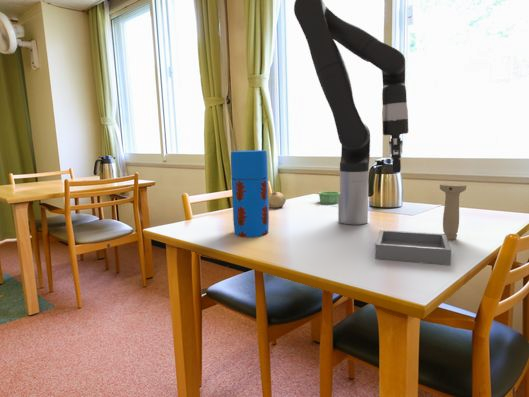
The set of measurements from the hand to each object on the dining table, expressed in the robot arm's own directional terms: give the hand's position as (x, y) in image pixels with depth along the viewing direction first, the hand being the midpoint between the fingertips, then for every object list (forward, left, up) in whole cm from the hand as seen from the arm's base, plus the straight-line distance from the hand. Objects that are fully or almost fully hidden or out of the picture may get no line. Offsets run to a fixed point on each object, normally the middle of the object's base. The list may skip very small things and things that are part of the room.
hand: (396, 171), depth 120 cm
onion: (-47, +19, -18) cm, 54 cm away
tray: (+5, -30, -17) cm, 35 cm away
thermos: (-41, -22, -17) cm, 50 cm away
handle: (+15, -14, -17) cm, 27 cm away
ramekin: (-28, +35, -18) cm, 48 cm away
